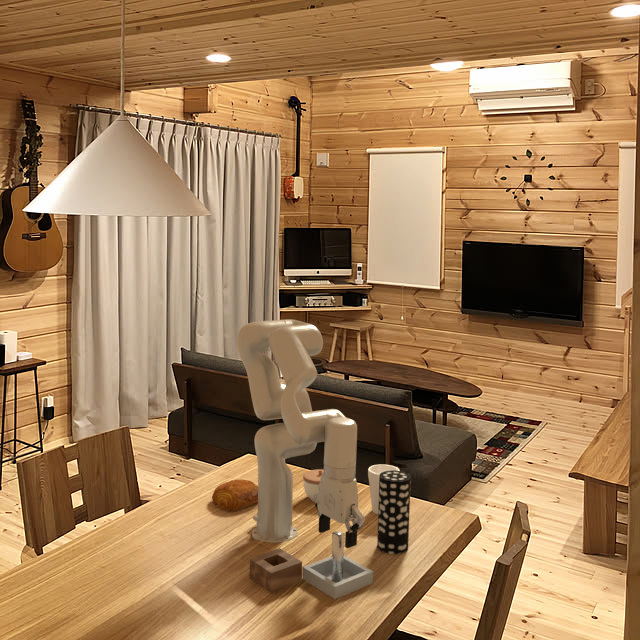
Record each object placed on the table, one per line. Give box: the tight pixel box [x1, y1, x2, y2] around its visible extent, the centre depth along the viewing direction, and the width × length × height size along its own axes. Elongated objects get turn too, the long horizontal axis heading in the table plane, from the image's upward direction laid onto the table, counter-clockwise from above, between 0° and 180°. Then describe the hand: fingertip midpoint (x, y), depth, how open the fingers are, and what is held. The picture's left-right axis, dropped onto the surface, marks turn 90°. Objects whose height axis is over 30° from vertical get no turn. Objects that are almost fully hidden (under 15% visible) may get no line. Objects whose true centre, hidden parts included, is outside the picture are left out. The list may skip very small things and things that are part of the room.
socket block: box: [249, 547, 303, 595], centre depth 172 cm, size 9×9×6 cm
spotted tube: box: [376, 470, 412, 555], centre depth 191 cm, size 8×8×20 cm
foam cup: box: [367, 464, 401, 515], centre depth 216 cm, size 10×9×13 cm
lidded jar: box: [302, 468, 324, 503], centre depth 225 cm, size 11×11×9 cm
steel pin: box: [331, 530, 345, 583], centre depth 171 cm, size 3×3×12 cm
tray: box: [302, 555, 374, 600], centre depth 172 cm, size 12×12×4 cm
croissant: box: [211, 479, 258, 512], centre depth 221 cm, size 14×16×8 cm
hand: (337, 538), depth 171 cm, fingers open, 9 cm apart
